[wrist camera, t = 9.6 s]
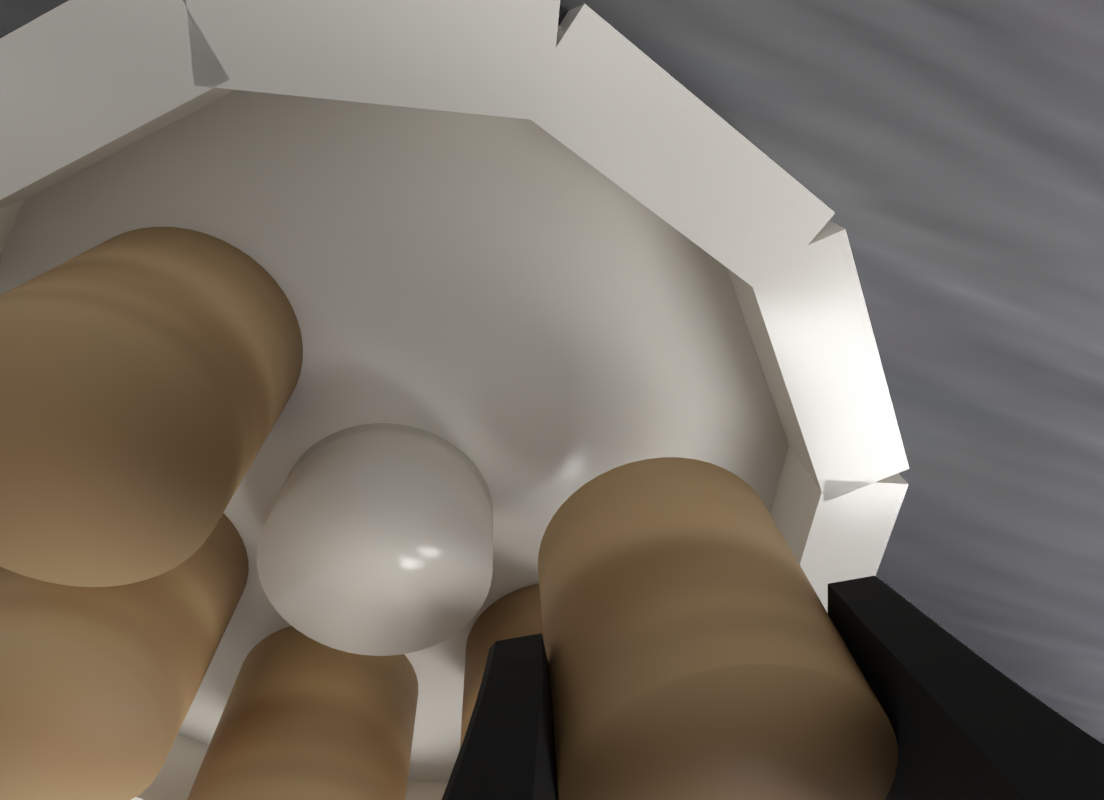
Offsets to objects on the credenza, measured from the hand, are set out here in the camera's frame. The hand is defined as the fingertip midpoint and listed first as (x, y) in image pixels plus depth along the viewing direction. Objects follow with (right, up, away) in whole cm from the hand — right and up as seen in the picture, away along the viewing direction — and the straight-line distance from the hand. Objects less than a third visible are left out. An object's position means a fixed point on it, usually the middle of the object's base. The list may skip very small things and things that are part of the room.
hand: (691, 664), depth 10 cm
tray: (-5, +2, +5) cm, 7 cm away
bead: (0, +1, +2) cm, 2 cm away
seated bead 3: (-7, -3, +6) cm, 10 cm away
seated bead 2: (-10, +1, +4) cm, 11 cm away
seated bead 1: (-8, +5, +3) cm, 10 cm away
